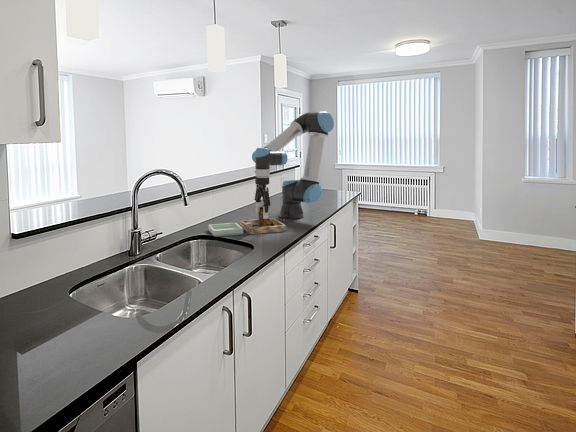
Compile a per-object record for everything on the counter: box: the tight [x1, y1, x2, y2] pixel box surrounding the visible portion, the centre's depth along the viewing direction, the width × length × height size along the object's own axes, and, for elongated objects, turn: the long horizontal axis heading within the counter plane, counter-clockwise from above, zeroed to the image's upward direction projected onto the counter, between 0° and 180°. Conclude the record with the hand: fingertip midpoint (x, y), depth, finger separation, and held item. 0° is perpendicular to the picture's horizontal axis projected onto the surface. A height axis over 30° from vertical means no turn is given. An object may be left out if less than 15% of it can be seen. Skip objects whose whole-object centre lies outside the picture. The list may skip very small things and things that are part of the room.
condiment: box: [252, 205, 271, 228], centre depth 220 cm, size 7×8×12 cm
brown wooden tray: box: [239, 217, 287, 235], centre depth 221 cm, size 20×20×3 cm
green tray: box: [208, 222, 244, 238], centre depth 212 cm, size 15×15×3 cm
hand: (262, 216), depth 220 cm, fingers open, 13 cm apart
